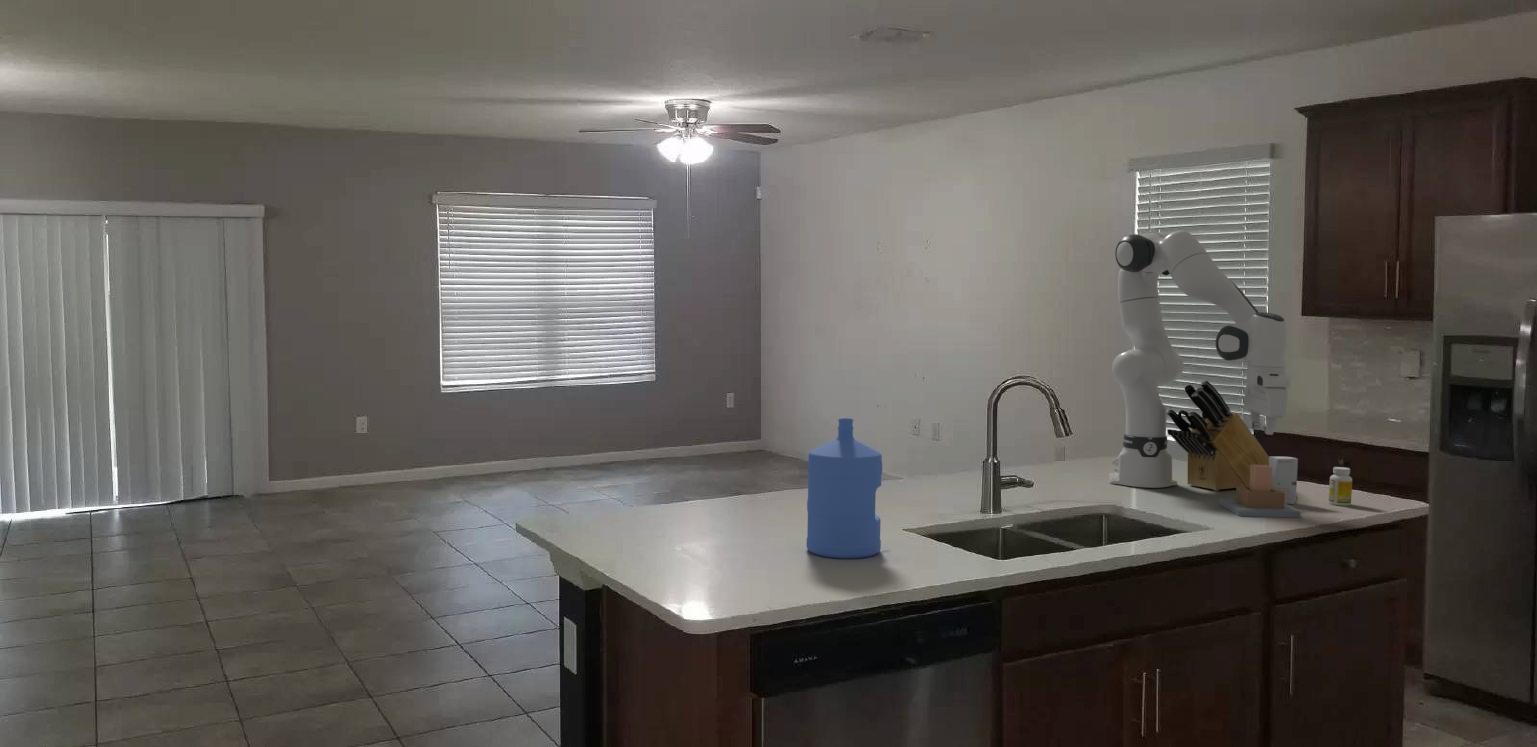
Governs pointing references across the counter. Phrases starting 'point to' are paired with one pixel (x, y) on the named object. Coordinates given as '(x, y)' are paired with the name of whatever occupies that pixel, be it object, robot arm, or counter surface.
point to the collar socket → (1259, 503)
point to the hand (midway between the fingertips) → (1262, 431)
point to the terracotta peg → (1260, 478)
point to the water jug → (843, 497)
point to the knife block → (1216, 442)
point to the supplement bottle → (1340, 487)
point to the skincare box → (1284, 476)
